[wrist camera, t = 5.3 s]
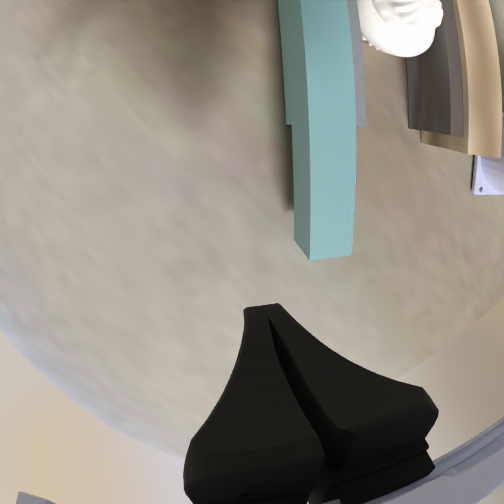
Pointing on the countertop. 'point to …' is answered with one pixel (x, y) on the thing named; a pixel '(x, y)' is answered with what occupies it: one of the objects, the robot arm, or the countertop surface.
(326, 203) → the movable jaw
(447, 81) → the wooden block
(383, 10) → the white ribbed dome
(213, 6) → the countertop surface
